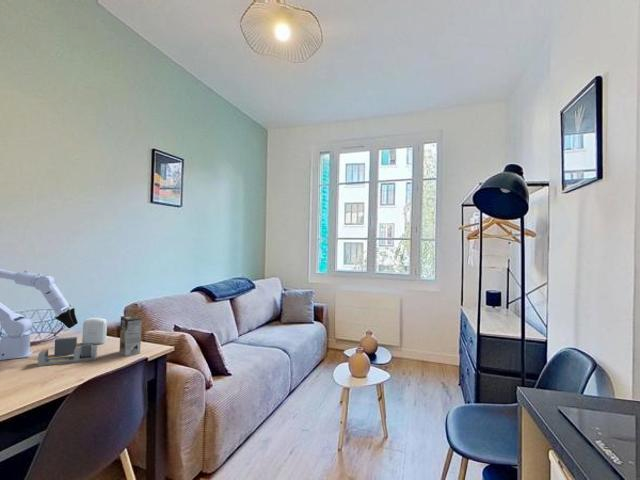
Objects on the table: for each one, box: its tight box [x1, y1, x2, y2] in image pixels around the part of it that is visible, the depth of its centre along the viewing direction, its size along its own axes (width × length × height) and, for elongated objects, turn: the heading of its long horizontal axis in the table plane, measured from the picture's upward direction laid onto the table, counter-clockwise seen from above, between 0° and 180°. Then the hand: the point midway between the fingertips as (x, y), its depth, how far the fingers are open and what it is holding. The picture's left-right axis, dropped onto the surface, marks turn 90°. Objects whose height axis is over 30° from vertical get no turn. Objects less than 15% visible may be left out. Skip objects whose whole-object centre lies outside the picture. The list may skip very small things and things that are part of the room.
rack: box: [37, 343, 98, 367], centre depth 138 cm, size 19×6×6 cm, turn 118°
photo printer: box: [81, 317, 108, 345], centre depth 163 cm, size 10×4×12 cm, turn 98°
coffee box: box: [119, 314, 143, 357], centre depth 152 cm, size 9×6×16 cm
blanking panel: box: [53, 336, 78, 357], centre depth 147 cm, size 8×2×7 cm, turn 118°
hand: (73, 325), depth 149 cm, fingers open, 7 cm apart
